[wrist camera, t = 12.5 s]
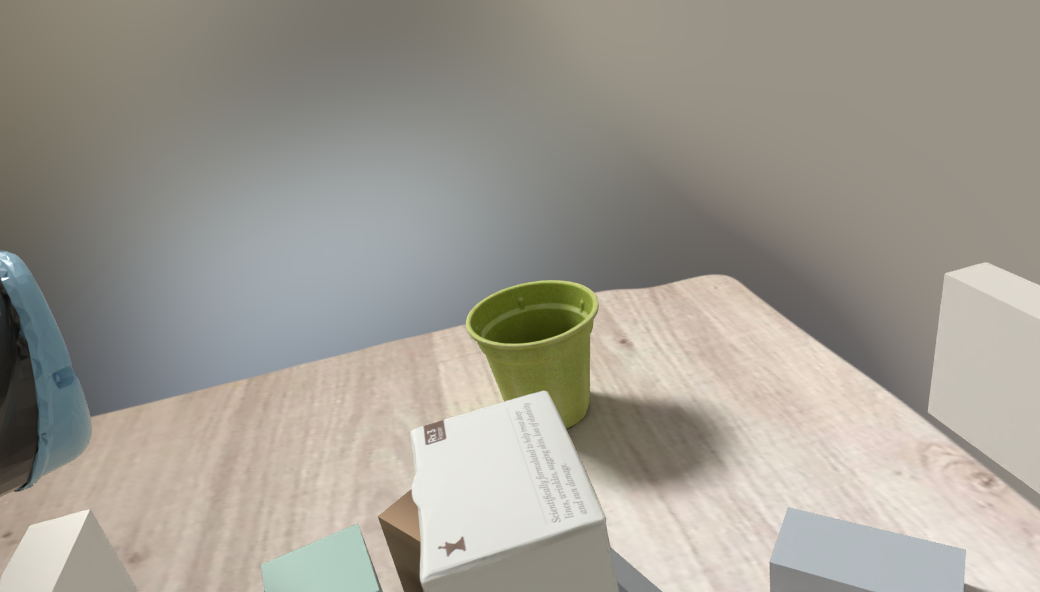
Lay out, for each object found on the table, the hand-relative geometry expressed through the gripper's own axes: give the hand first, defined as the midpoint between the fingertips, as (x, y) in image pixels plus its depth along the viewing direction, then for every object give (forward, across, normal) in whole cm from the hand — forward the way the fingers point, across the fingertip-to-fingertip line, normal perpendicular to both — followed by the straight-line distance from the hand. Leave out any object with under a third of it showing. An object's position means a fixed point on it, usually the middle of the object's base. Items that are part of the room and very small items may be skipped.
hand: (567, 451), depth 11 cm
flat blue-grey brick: (+12, +16, -24) cm, 31 cm away
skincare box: (+10, 0, -23) cm, 25 cm away
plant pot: (+34, +6, -24) cm, 42 cm away
